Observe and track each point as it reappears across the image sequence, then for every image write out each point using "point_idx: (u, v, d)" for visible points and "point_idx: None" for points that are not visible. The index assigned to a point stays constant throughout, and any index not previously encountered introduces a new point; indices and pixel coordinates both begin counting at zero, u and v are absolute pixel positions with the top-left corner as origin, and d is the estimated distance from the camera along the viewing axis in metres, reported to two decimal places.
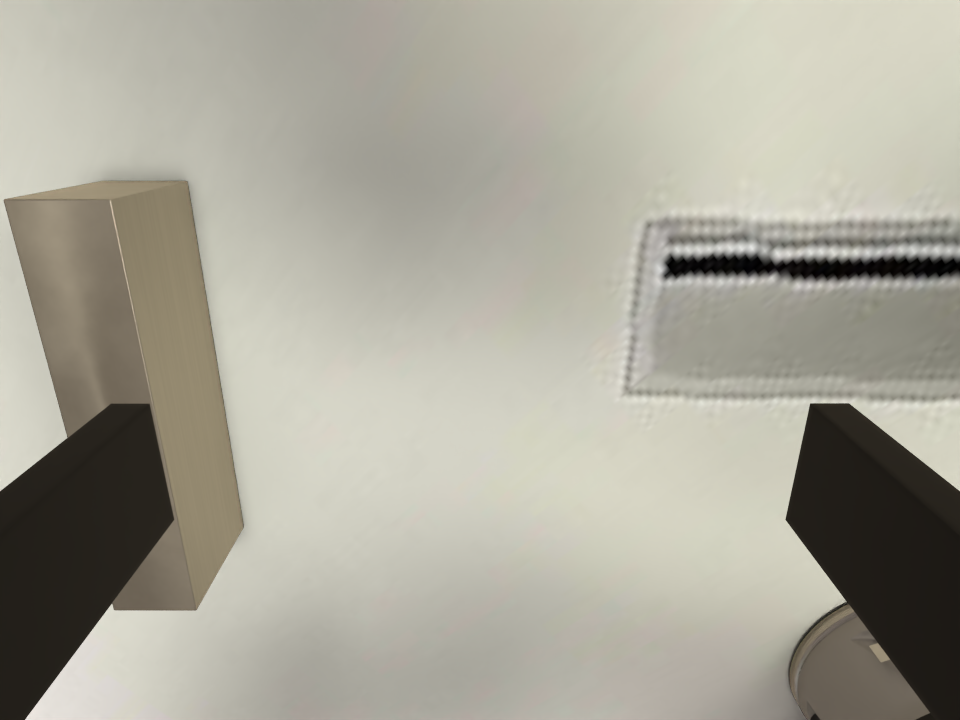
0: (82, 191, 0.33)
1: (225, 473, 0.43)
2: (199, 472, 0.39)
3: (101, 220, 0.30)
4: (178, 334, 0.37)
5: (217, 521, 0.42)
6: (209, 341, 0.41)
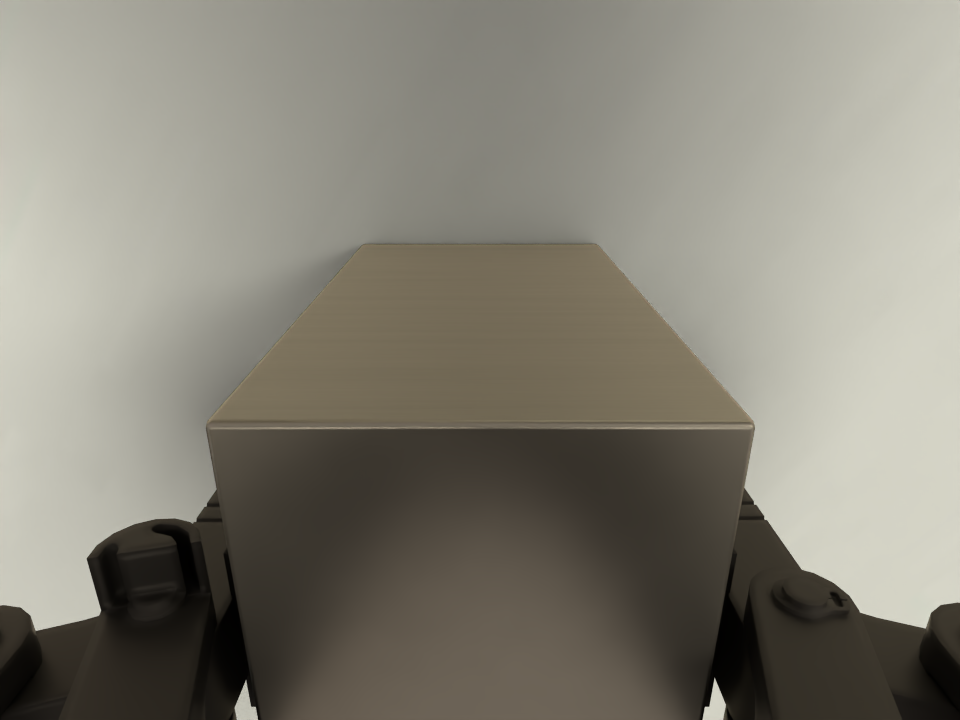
0: (436, 319, 0.09)
1: None
2: None
3: (676, 513, 0.06)
4: None
5: None
6: None
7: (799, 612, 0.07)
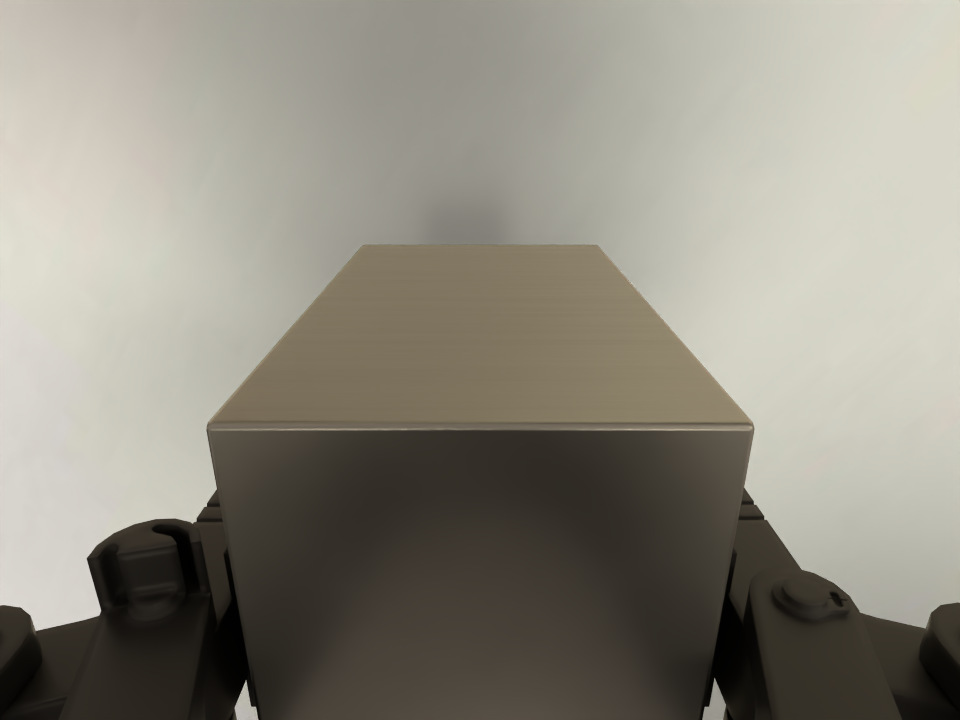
0: (436, 320, 0.09)
1: None
2: None
3: (675, 513, 0.06)
4: None
5: None
6: None
7: (799, 612, 0.07)
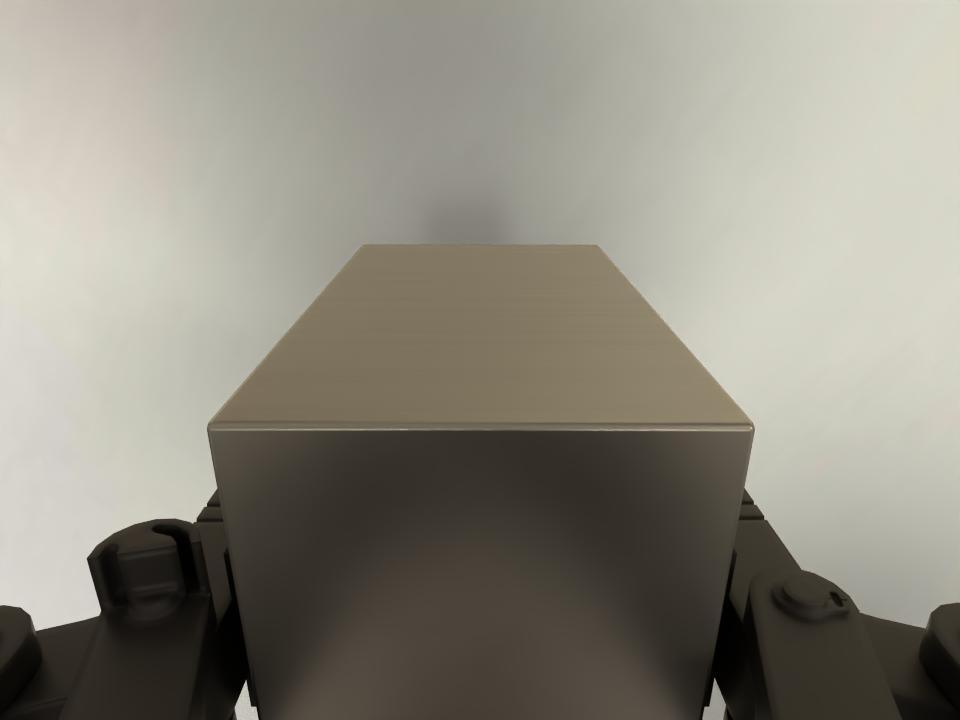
0: (436, 320, 0.09)
1: None
2: None
3: (675, 513, 0.06)
4: None
5: None
6: None
7: (799, 613, 0.07)
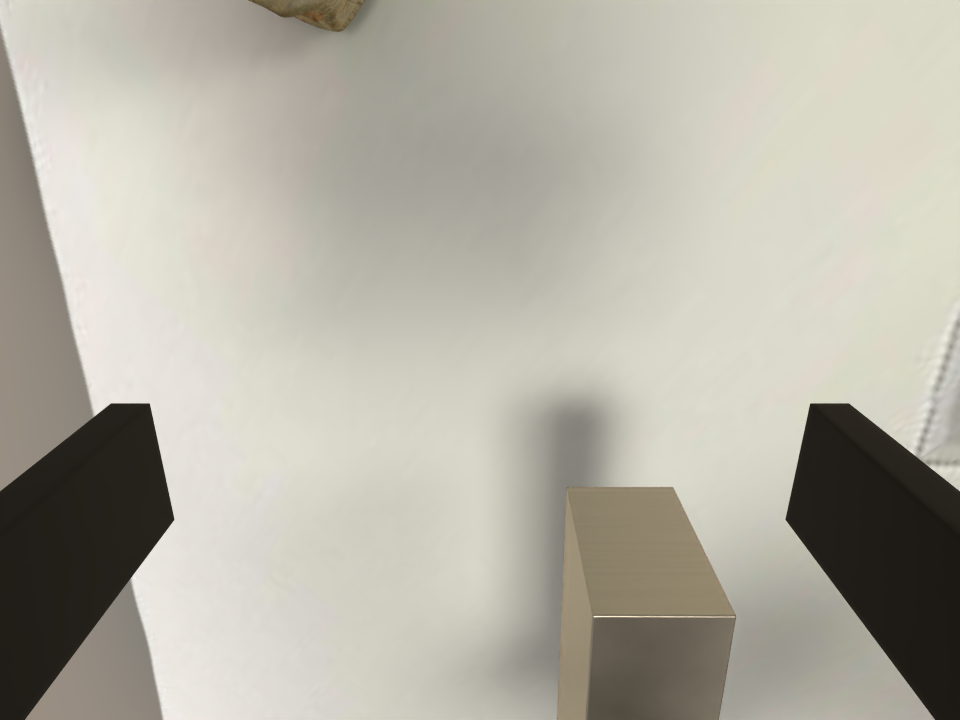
0: (629, 558, 0.25)
1: None
2: None
3: (715, 637, 0.23)
4: None
5: None
6: None
7: None
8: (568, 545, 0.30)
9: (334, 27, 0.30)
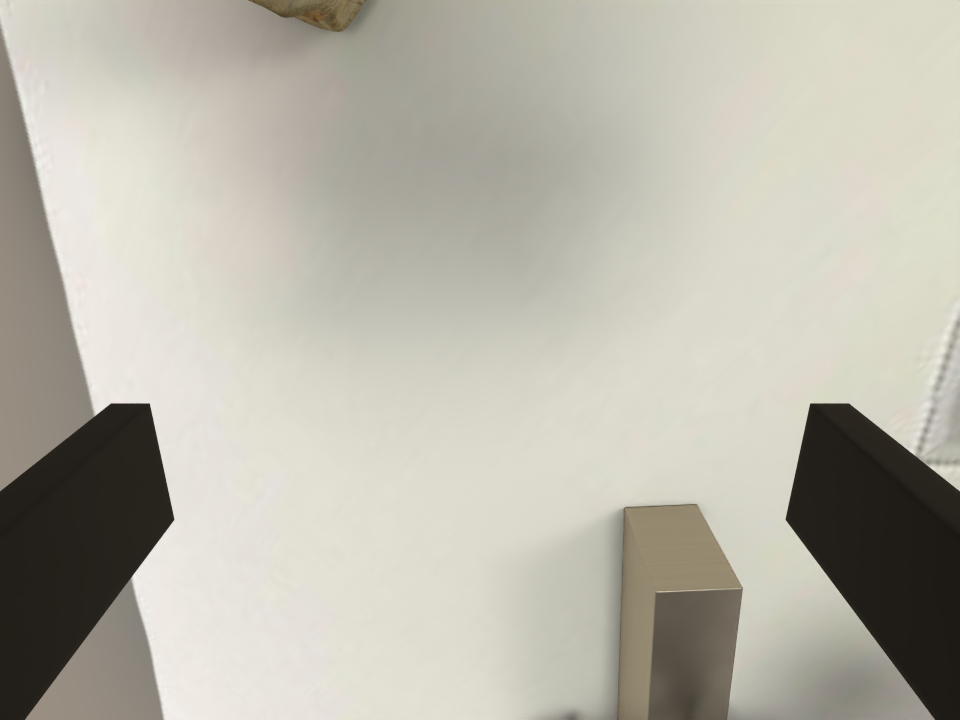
0: (673, 555, 0.40)
1: None
2: None
3: (730, 601, 0.37)
4: None
5: None
6: None
7: None
8: (628, 547, 0.44)
9: (334, 27, 0.30)
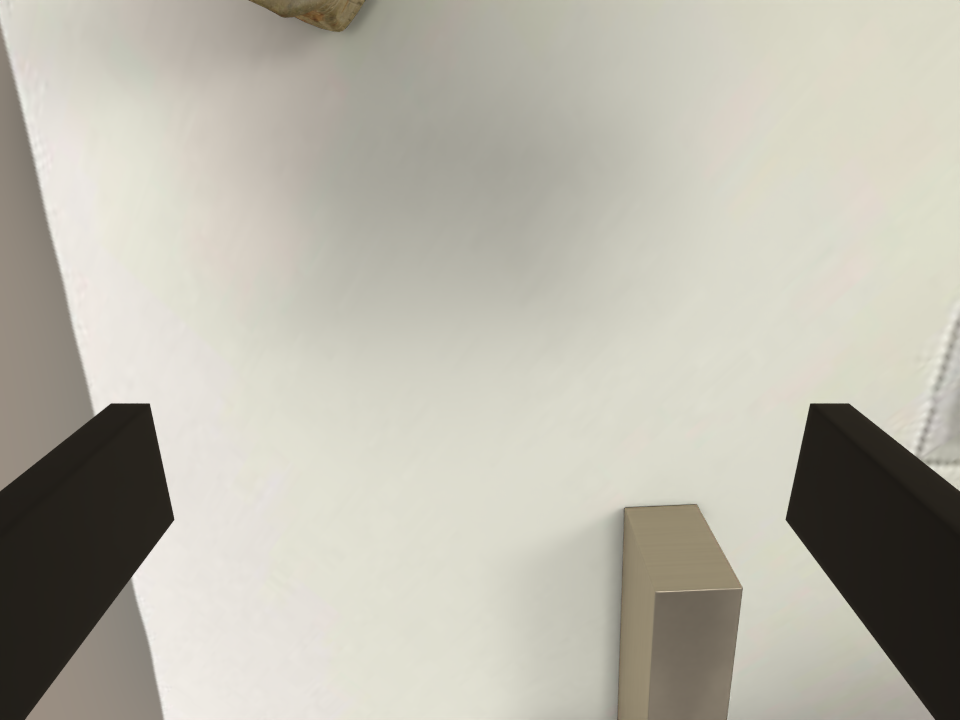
0: (673, 555, 0.40)
1: None
2: None
3: (730, 601, 0.37)
4: None
5: None
6: None
7: None
8: (628, 547, 0.44)
9: (334, 27, 0.30)
